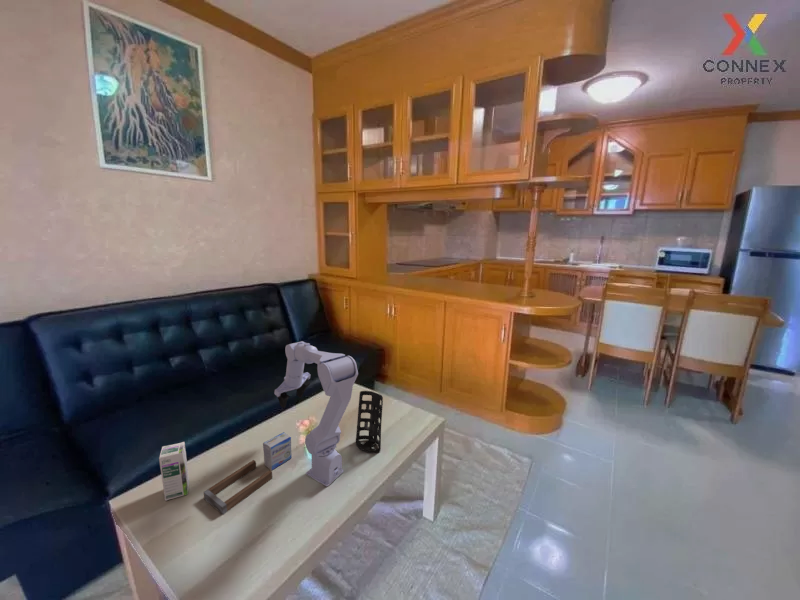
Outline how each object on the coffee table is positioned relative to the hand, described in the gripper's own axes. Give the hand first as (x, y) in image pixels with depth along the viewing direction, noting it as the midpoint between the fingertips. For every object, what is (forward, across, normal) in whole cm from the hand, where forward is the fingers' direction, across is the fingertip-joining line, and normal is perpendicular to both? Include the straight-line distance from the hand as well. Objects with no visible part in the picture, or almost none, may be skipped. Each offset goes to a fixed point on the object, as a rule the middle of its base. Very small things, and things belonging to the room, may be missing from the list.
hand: (291, 401), depth 121 cm
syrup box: (+15, +37, -4) cm, 40 cm away
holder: (+9, -13, +29) cm, 33 cm away
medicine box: (+13, +12, +10) cm, 20 cm away
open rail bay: (+11, +26, +10) cm, 30 cm away
